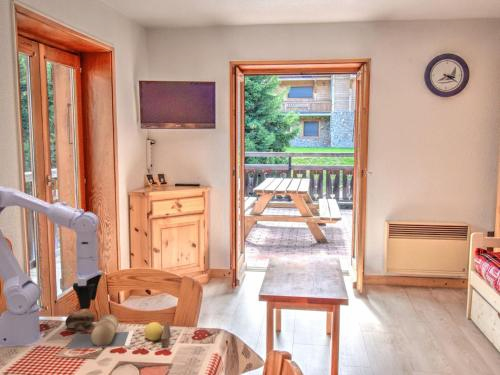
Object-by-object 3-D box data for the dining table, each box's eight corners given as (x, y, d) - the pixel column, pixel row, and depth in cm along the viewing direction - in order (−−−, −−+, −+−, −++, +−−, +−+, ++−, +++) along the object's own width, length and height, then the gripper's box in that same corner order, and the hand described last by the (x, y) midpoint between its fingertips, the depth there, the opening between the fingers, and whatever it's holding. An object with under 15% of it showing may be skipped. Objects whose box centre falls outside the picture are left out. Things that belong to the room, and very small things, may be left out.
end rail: (161, 347, 122) (161, 339, 121) (164, 330, 133) (164, 322, 133) (167, 347, 122) (167, 338, 122) (169, 330, 134) (169, 322, 133)
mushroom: (86, 325, 128) (83, 305, 131) (61, 336, 129) (58, 315, 132) (101, 329, 135) (97, 309, 138) (76, 339, 136) (74, 319, 139)
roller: (91, 346, 121) (91, 326, 120) (98, 333, 129) (97, 314, 129) (113, 345, 121) (112, 325, 121) (118, 332, 130) (118, 313, 130)
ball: (152, 347, 125) (139, 335, 123) (153, 338, 129) (141, 327, 128) (166, 335, 125) (153, 323, 123) (166, 327, 129) (154, 315, 128)
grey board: (66, 351, 119) (66, 348, 119) (76, 336, 129) (76, 333, 129) (129, 347, 121) (129, 345, 121) (133, 333, 131) (133, 331, 131)
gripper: (97, 261, 119) (98, 312, 120) (106, 250, 134) (107, 295, 135) (69, 262, 118) (70, 313, 119) (82, 251, 133) (83, 296, 134)
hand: (88, 304), depth 127 cm, fingers open, 7 cm apart
